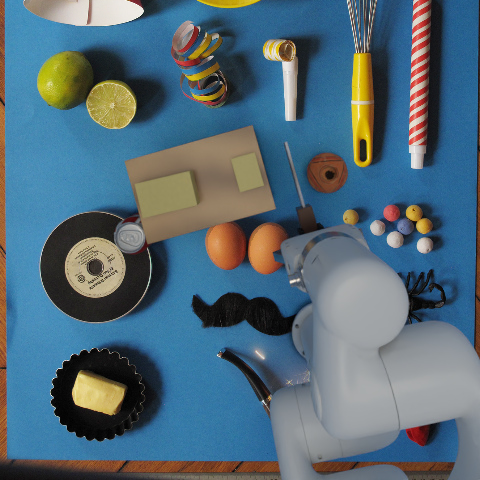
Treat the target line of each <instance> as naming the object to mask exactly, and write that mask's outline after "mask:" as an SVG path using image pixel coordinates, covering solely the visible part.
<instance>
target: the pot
mask: <svg viewBox="0 0 480 480" xmlns="http://www.w3.org/2000/svg"><path fill="white" fill-rule="evenodd" d="M348 176H349V169H348V166H347V164H346V162H345V159H343V158H342V157H341V156H340V155H337V154H336V153H332V152H322V153H319V154H316V155H314V157H312V158H311V159H310V160H309V162H308V165H307V167H306V178H307V181H308V183H309V185H310V186H311V187H312V189H314V190H315V191H316V192H318V193H322V194H332V193H337V192H338V191H339V190H341V189H342V188H343V187H344V186H345V184H346V183H347V180H348Z"/></svg>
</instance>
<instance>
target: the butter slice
mask: <svg viewBox="0 0 480 480" xmlns="http://www.w3.org/2000/svg"><path fill="white" fill-rule="evenodd" d="M231 162H232V166H233V169H234V173H235V176H236V180H237V183H238V187H239V191H240V192H244V191H247V190H251V189H254V188H258V187H262V186H264V183H263V179H262V176H261V172H260V169H259V165H258V162H257V158H256V155H255V152H253V153H250V154H246V155H243V156H239V157H236V158H232V159H231Z"/></svg>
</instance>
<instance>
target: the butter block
mask: <svg viewBox="0 0 480 480" xmlns="http://www.w3.org/2000/svg"><path fill="white" fill-rule="evenodd" d="M135 188H136V192H137V196H138V201H139V205H140V209H141V213H142V217H143V218H146V217H151V216H155V215H159V214H163V213H167V212H172V211H176V210H180V209H184V208H189V207H193V206H197V205H198V204H199V203H200V198H199V194H198V190H197V186H196V182H195V178H194V173H193V170H191V171H187V172H182V173H178V174H174V175H170V176H166V177H162V178H157V179H153V180H149V181H145V182H141V183H137V184H135Z"/></svg>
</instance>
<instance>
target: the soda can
mask: <svg viewBox="0 0 480 480" xmlns="http://www.w3.org/2000/svg"><path fill="white" fill-rule="evenodd" d="M113 240H114V243H115V246H116V247H117V249H118V250H119V251H121V252H122V253H124V254H127V255H131V256H133V255H138V254H141V253H143V252H144V251H145V250H147V249H148V248H149V247H150V246H151V245H153V243H151V244H147V240H146V237H145V233H144V230H143V226H142V223H141V219H140V215H139V212H136V213H133V214H132V215H130V216H128V217H126V218H123V219H122V220H120V221H119V222H118V224H117V225H116V226H115V229H114V232H113Z"/></svg>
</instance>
